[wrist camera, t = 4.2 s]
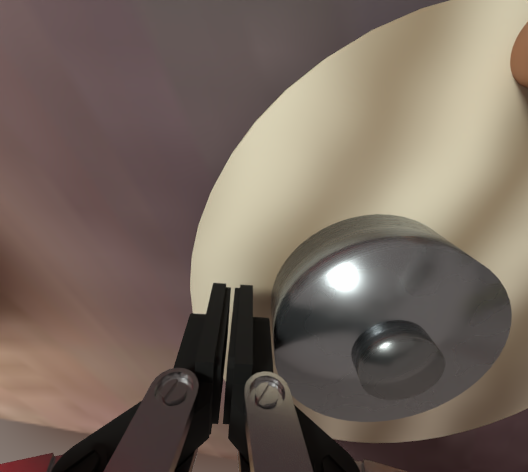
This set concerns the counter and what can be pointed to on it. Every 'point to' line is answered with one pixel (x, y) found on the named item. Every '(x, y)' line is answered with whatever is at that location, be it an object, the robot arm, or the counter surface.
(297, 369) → the cover
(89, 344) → the counter surface
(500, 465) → the counter surface
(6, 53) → the counter surface
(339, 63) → the platter
